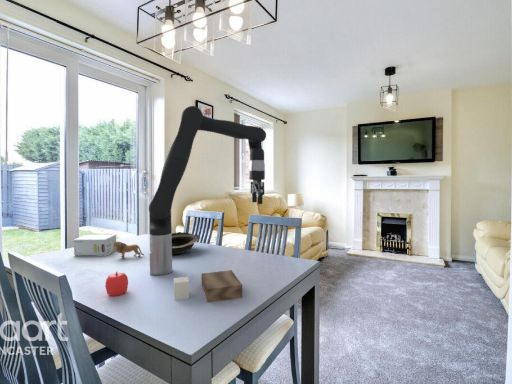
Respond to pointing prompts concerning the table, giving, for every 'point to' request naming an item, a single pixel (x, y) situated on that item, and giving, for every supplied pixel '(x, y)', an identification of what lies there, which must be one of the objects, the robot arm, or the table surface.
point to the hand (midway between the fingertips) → (257, 203)
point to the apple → (116, 284)
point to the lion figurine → (126, 248)
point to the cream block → (181, 288)
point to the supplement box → (94, 244)
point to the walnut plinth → (221, 286)
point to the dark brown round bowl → (183, 242)
